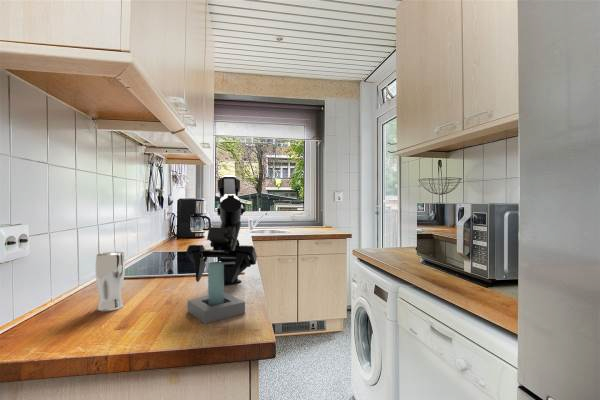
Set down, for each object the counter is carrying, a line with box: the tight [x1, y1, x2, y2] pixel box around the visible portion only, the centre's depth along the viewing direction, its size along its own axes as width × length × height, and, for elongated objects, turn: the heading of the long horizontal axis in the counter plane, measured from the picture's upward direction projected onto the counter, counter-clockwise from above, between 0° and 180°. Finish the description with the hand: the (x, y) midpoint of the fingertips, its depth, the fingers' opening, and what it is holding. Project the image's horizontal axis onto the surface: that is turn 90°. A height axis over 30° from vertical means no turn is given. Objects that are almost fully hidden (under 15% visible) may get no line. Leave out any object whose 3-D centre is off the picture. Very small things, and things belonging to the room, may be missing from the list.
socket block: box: [187, 292, 246, 325], centre depth 84 cm, size 11×11×3 cm
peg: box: [207, 261, 225, 306], centre depth 84 cm, size 4×4×13 cm
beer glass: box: [95, 251, 126, 313], centre depth 88 cm, size 7×7×15 cm
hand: (214, 281), depth 83 cm, fingers open, 9 cm apart
